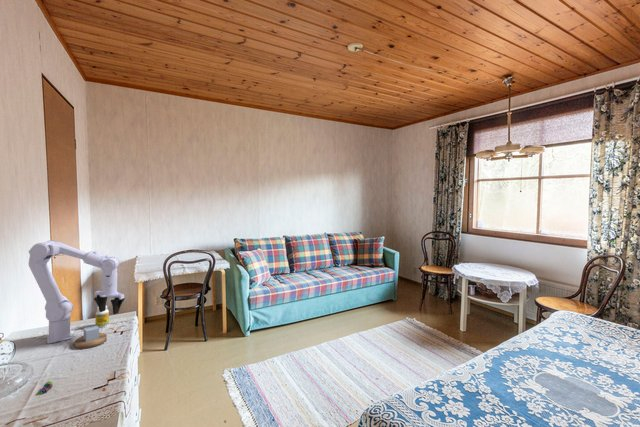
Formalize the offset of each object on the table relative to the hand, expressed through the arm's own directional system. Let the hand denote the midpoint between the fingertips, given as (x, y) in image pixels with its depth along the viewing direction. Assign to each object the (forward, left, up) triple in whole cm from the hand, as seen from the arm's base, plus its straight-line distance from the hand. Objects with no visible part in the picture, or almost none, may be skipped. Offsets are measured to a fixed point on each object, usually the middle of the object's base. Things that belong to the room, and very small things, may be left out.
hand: (109, 312), depth 136 cm
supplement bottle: (-13, -1, -11) cm, 17 cm away
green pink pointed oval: (+35, -22, -11) cm, 43 cm away
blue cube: (+5, -7, -8) cm, 12 cm away
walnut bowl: (+5, -7, -10) cm, 13 cm away
